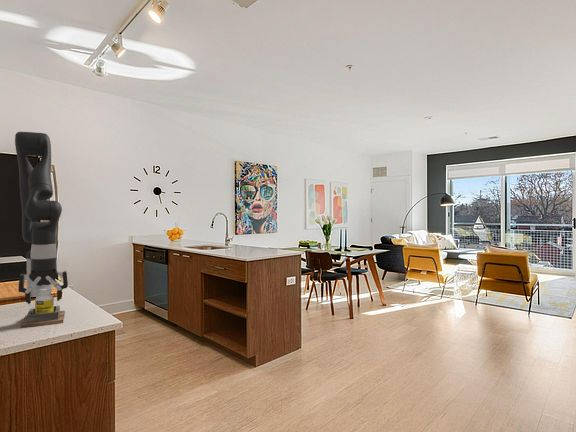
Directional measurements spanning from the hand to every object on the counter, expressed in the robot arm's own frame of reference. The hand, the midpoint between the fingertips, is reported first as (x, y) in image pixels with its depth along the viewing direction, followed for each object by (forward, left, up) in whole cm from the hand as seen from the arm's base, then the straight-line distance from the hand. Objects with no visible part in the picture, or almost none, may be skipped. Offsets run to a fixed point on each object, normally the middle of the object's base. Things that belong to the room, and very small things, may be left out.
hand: (44, 301), depth 124 cm
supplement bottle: (0, 0, -6) cm, 6 cm away
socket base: (0, 0, -7) cm, 7 cm away
